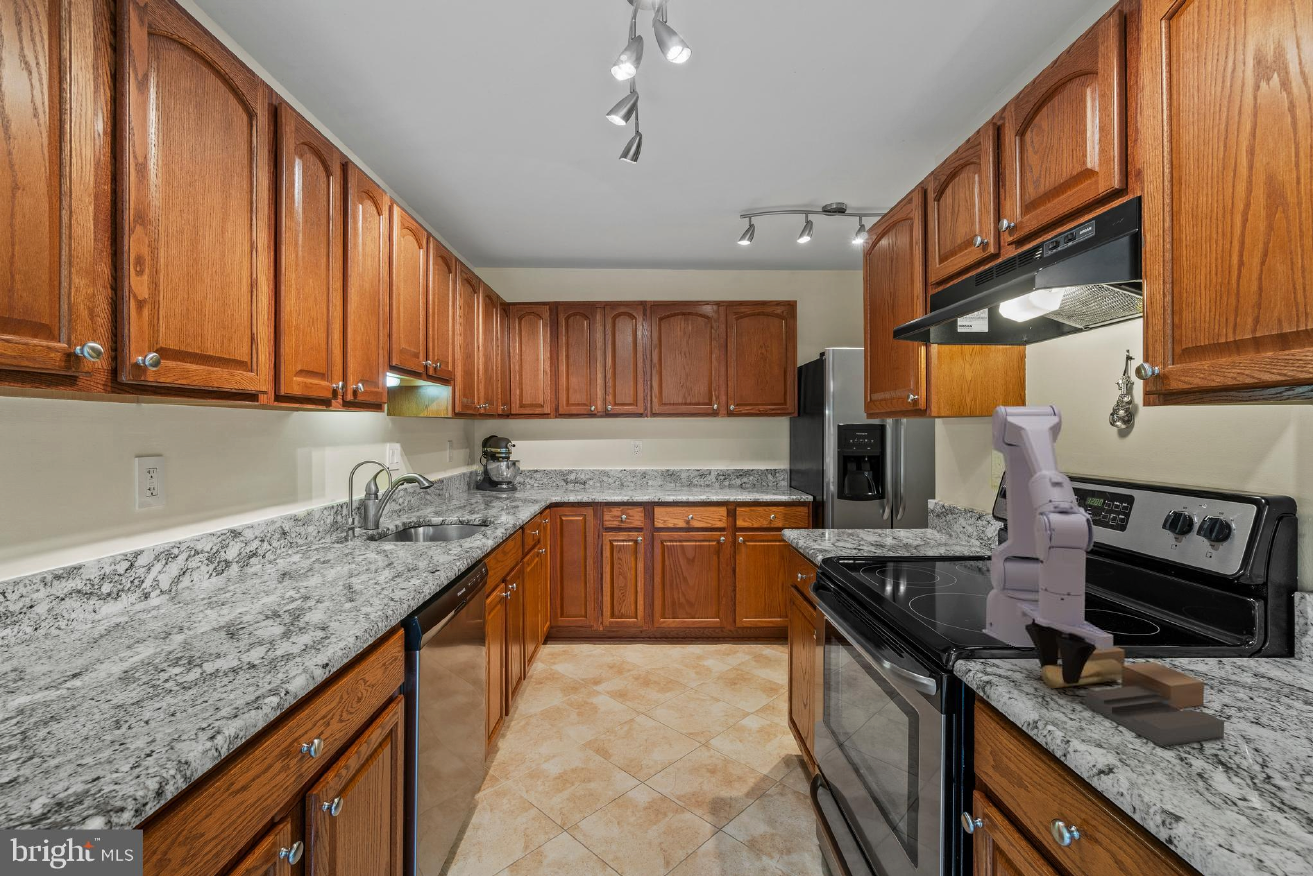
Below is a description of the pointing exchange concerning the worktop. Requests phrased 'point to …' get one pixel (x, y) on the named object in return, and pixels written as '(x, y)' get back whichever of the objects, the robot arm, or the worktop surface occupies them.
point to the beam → (1156, 679)
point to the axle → (1084, 673)
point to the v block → (1154, 716)
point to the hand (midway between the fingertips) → (1059, 676)
